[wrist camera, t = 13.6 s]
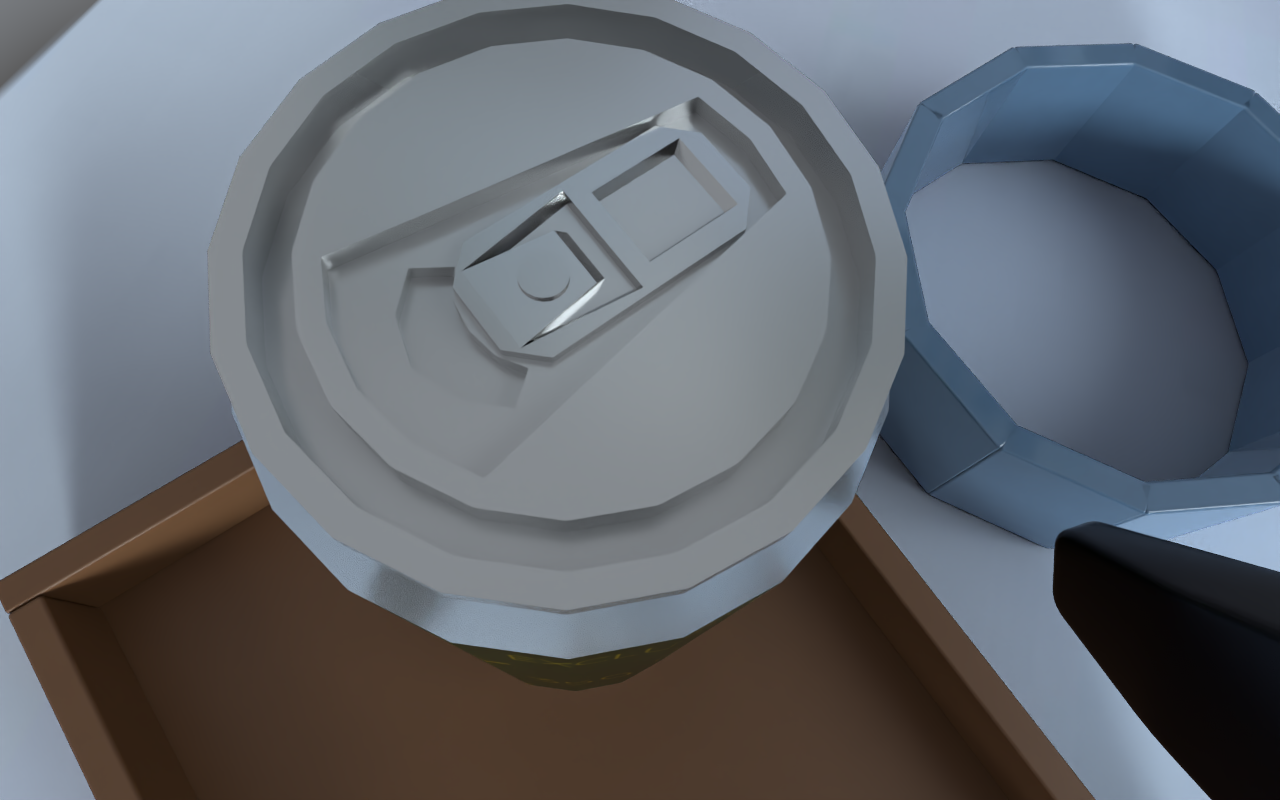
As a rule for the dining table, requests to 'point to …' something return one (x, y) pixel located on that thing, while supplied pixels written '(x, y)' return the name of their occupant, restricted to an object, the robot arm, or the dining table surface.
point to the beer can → (558, 324)
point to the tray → (495, 680)
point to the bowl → (1182, 192)
